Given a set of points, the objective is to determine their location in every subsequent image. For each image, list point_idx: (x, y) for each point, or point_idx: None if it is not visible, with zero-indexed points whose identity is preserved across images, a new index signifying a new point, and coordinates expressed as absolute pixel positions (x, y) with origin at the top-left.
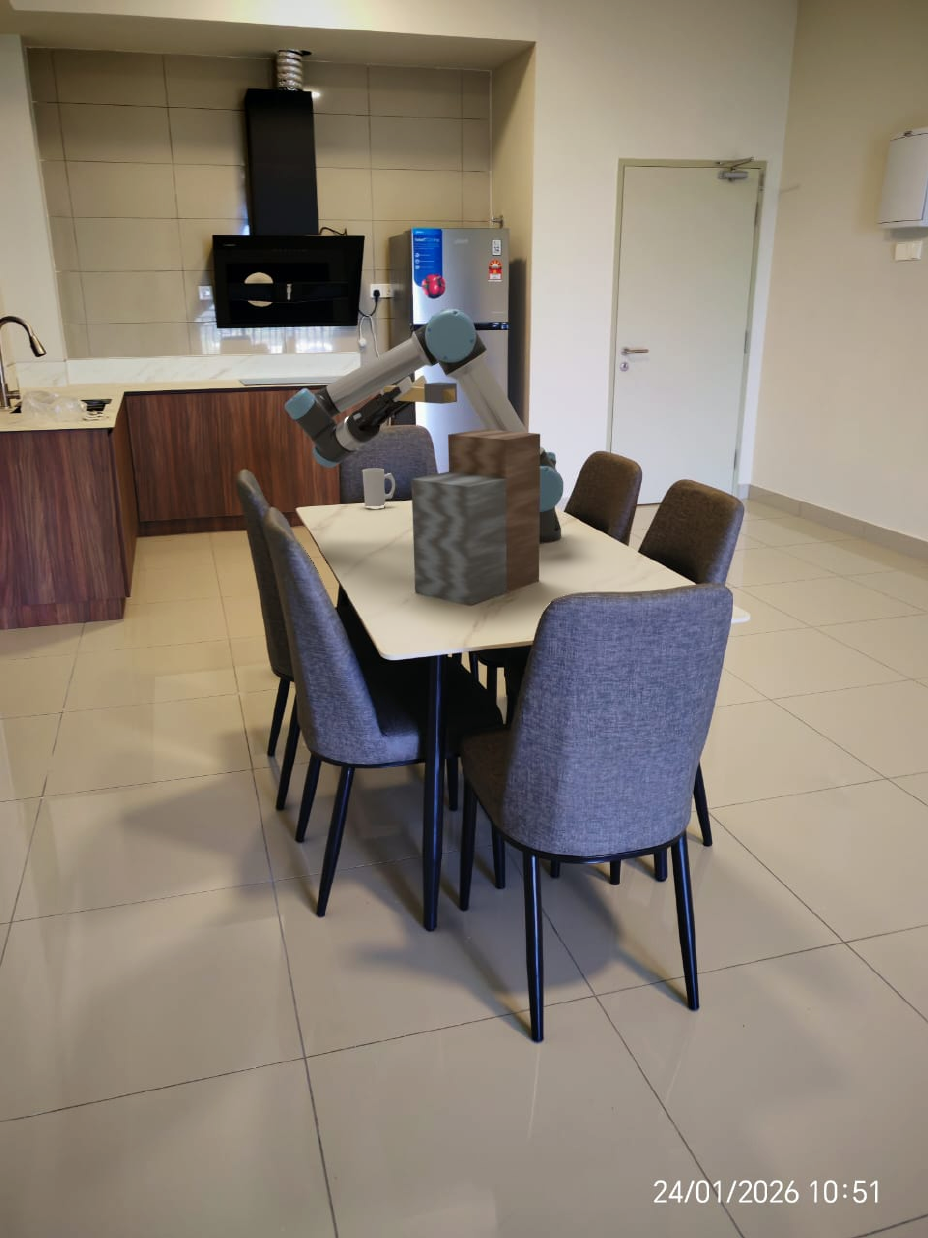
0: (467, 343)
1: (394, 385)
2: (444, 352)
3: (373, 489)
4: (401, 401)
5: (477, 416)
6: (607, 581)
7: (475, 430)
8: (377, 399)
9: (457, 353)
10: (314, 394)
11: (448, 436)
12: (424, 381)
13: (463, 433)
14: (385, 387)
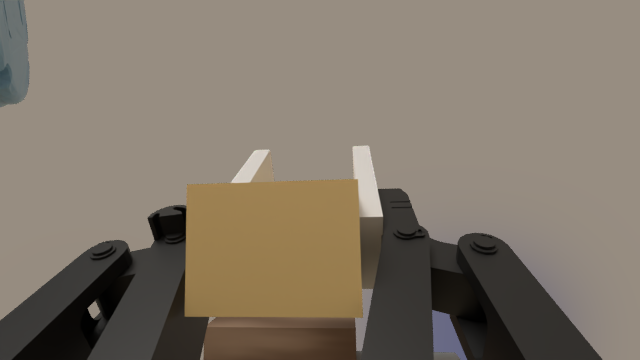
0: (26, 52)
1: (240, 185)
2: (6, 44)
3: None
4: (195, 331)
5: None
6: None
7: (241, 326)
8: (484, 303)
9: (20, 75)
10: None
11: (355, 333)
12: (272, 178)
13: (313, 321)
14: (358, 193)
